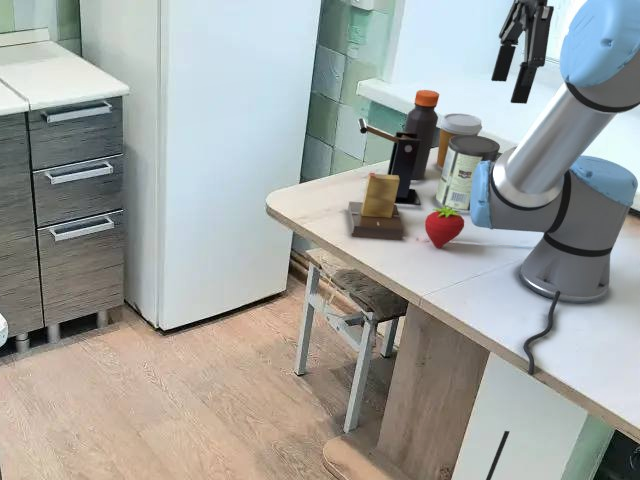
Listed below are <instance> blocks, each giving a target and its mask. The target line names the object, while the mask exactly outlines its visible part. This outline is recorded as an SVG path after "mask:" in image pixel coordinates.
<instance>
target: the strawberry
mask: <svg viewBox="0 0 640 480" xmlns="http://www.w3.org/2000/svg"><path fill="white" fill-rule="evenodd" d="M448 205H449V204H448ZM448 205H447V206H448ZM460 212H461V210H457V209H453V208H449V207H446V206H444V205H442V208H438V207H437V208H433V209H432V212H431V213H430V214H429V215H427V216H426V219H425V221H424V227H425V233H426V234H427V236H428V238H429V240H430V241H431V242H432V244H433V246H434V247H435V248H437V249H438V248H442V247H444V245H446V244H448V243H450V242H451V241H453V240H454V239H455V238H456V237H458V236H459V235H460V234H461V233H462V231H463V230H464V228H465V219H464V218H463V217H462V216H461V215H460V214H459V213H460Z"/></svg>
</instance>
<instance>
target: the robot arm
mask: <svg viewBox="0 0 640 480" xmlns="http://www.w3.org/2000/svg"><path fill="white" fill-rule="evenodd" d="M548 2H549V0H513V3H512V5H511V7H510V9H509V12H508V14H507V16H506V18H505V21H504V23H503V24H502V26H501V29H500V31H499V33H498V39H500V41H499V44H500V46H499V50H498V53H497V57H496V60H495V64H494V67H493V71H492V75H491V81H492V82H503V83H505V82H507V81H508V77H509V73H510V69H511V66H512V63H513V59H514V55H515V52H516V48H517V46H518V45H519V38H520V36H521V35H522V33H523V32H524V35H525V36H524V51H523V53H524V54H523V61H521V62H520V64H519V70H518V74H517V78H516V81H515V84H514V88H513V92H512V95H511V98H510V101H509V102H510V103H511V104H521V105H523V104H525V105H527V104H528V101H529V97H530V94H531V90H532V87H533V83H534V81H535V78H536V74H537V71H538V69H539V68H543V67H545V65H546V58H547V51H548V43H549V37H550V36H549V35H550V29H551V23H552V19H553V14H554V10H555V6H554V5H548ZM559 53H560V54H559V60H558V61H559V65H558V66H559V73H560V76H561V77H562V79H563V82H562V84H561V85H560V87H559V89H558V90H557V91H556V93H555V94H554V96H552V98H551V99H550V101H549V102H548V104H547V105H546V106H545V108H544V109H543V110H542V112H541V113H540V115H539V116H538V118H537V119H536V120H535V122H534V124H533V125H532V126H531V127H530V129H529V131H528V132H527V133H526V135H525V136H524V137H523V138H522V140H521V141H520V143H519V144H518V145H517V146H514V147H511V148H509V149H507V150H506V151H504V152H503V153H502V154H500V156H499V157H498V158H497V159H496V160H495V162H491V160H488V161H482V162H480V163H479V164H478V165H477V167H476V169H475V172H474V176H473V181H472V188H471V197H470V210H469V215H470V220H471V222H472V224H473V226H476V227H478V228H483V229H484V228H485V229H489V230H501V231H502V230H503V231H519V232H531V233H543V235H542V237H541V239H540V240H539V241H538V243H537V244H536V245H535V246H534V248H533V249H532V250H531V251H530V253H529V254H528V255H527V256H526V258H525V259H524V260H523V262H522V264H521V265H520V269H519V272H518V276H519V279H520V281H521V282H522V283H523V284H524V286H526V287H527V288H528V289H530V290H531V291H533V292H535V293H536V294H539V295H540V296H544V297H546V298H549V299H552V301H551V305H550V308H549V309H548V310H549V311H548V314H547V326H546V328H545V329H544V330H543V331H541V332H539V333H536V334H534V335H532V336H530V337H529V338H527V339H526V340H525V341H524V343H523V351H524V353H525V354H526V356H527V358H528V360H529V361H528V362H529V365H528V366H529V368H528V371H527V373H528V375H529V376H533V375H534V373H535V372H534V371H535V359H534V357H535V356H534V354H533V353H532V351H531V350H530V349H529V345H530V344H531V343H532V342H534V341H536V340H538V339H541V338H543V337H545V336H547V334H549V333H550V332H551V330H552V328H553V326H554V313H555V312H554V311H555V309H556V307H557V305H558V301H559V302H564V303H571V304H589V303H595V302H597V301H600V300H602V299H603V298H604V297H605V296H606V293H607V292H608V289H609V285H610V275H611V274H610V273H611V272H610V271H611V254H612V251H613V249H614V246H615V244H616V242H617V240H618V237H619V235H620V232H621V230H622V228H623V225H624V223H625V221H626V219H627V217H628V214H629V211H630V209H631V207H632V206H633V204H634V199H635V196H636V193H637V191H638V186H639V181H638V179H637V176H636V175H635V174H634V173H632V171H631V170H629V169H627V168H626V167H624V166H623V165H620V164H619V163H616V162H614V161H610V160H608V159H604V158H601V157H598V156H592V155H585V154H584V152H585V151H586V150H587V149H588V148H589V147H590V145H592V143H593V142H594V141H595V140H596V139H597V137H598V136H599V135H600V134H601V133H602V132H603V130H605V128H606V127H607V126H608V125H609V124H610V123H611V122H612V120H613V119H614V118H615V117H616V116H617V115H618V114H622V113H626V112H630V111H632V110H634V109H635V108H637V107H639V106H640V0H586V1H585V2H584V3H583V4H582V5H581V6H580V8H579V9H578V10H577V12H576V13H575V15H574V16H573V18H572V20H571V21H570V24H569V26H568V32H567V34H565V36H564V38H563V40H562V45H561V48H560V52H559ZM583 154H584V155H583ZM509 435H510V430H504V432H503V435H502V437H501V440H500V442H499V445H498V448H497V450H496V452H495V455H494V457H493V461H492V463H491V465H490V467H489V471H488V473H487V476H486V478H485V480H492V478H493V475H494V473H495V470H496V468H497V465H498V462H499V460H500V458H501V455H502V453H503V450H504V447H505V444H506V442H507V439H508V438H509Z"/></svg>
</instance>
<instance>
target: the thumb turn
mask: <svg viewBox="0 0 640 480" xmlns="http://www.w3.org/2000/svg"><path fill="white" fill-rule="evenodd" d="M399 181H400V179H399V176H398V175H387V174H383V173H381V174H380V173H375V172H369V173H368V175H367V180H366V184H365V190H364V195H363V200H362V202H363V204H362V209H361V213H362V216H371V217H385V218H391V216H392V212H393V207H394V205H395V204H394V203H395V198H396V194H397V190H398V185H399Z"/></svg>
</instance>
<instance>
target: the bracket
mask: <svg viewBox="0 0 640 480" xmlns="http://www.w3.org/2000/svg"><path fill="white" fill-rule="evenodd" d="M403 135H405V136H407V137H410V138H401V137H402V136H403ZM417 135H418V133H417V132H404V130H396V132H395V135H394V136H396V137H399V140H398V143H395V142H393V145H392V149H391V154H390V159H389V164H388V169H387V173H386V175H398V176H399V179H400V181H399V185H398V190H397V194H396V198H395V203H394V205H411V206H421V202H420V199H419V197H418V193H417V191H416V189H415V188H410V187H411V183H412V180H411V179H412V175H413V171H414V166H415V162H416V158H417V154H418V150H419V145H420V141H421V140H420V139H417Z"/></svg>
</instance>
